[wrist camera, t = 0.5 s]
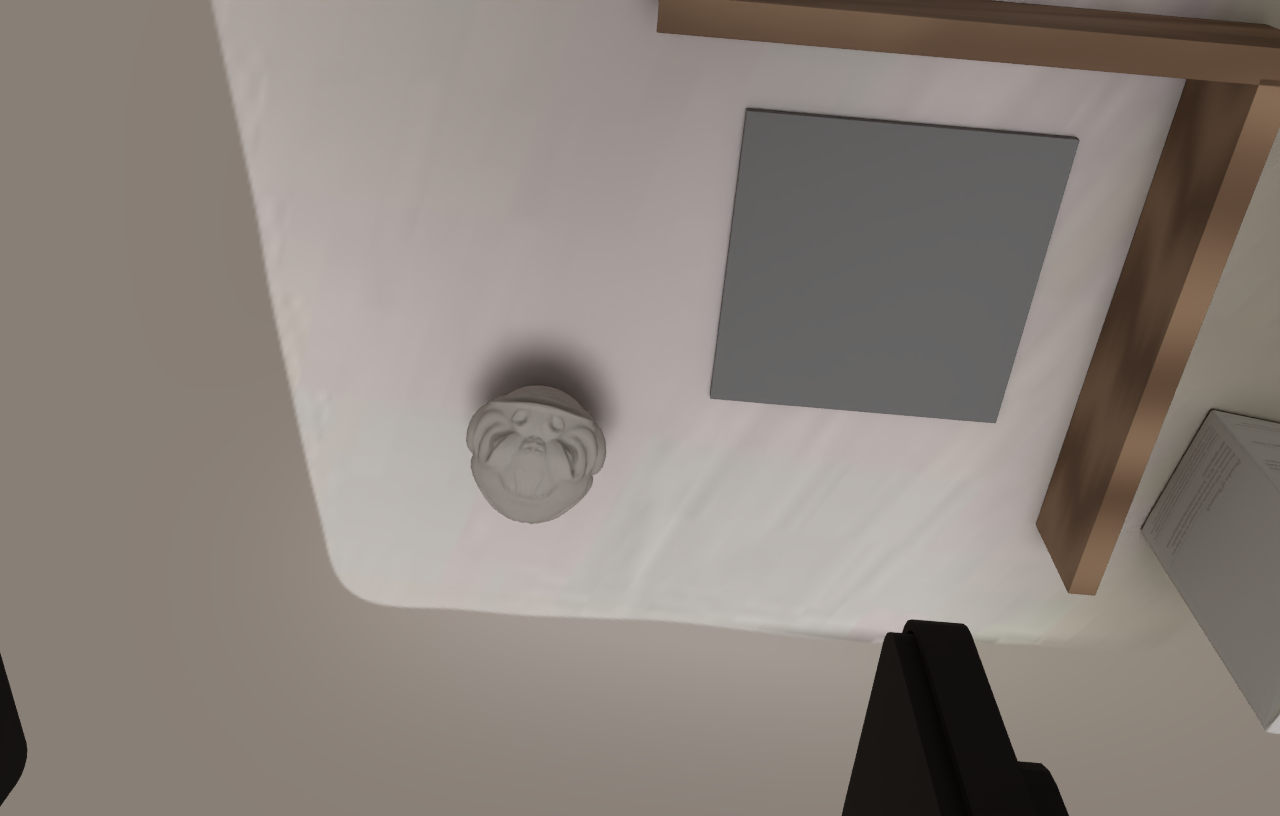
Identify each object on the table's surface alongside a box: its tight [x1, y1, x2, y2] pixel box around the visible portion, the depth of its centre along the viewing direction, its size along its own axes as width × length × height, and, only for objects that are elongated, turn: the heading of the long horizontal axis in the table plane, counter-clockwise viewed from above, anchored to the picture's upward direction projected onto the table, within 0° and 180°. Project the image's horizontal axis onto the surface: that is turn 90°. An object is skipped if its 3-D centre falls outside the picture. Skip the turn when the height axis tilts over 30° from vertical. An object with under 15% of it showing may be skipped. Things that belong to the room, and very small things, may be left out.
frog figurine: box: [466, 385, 606, 524], centre depth 45 cm, size 6×7×7 cm
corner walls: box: [657, 0, 1280, 596], centre depth 42 cm, size 23×22×5 cm
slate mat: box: [710, 108, 1079, 423], centre depth 44 cm, size 13×13×1 cm
